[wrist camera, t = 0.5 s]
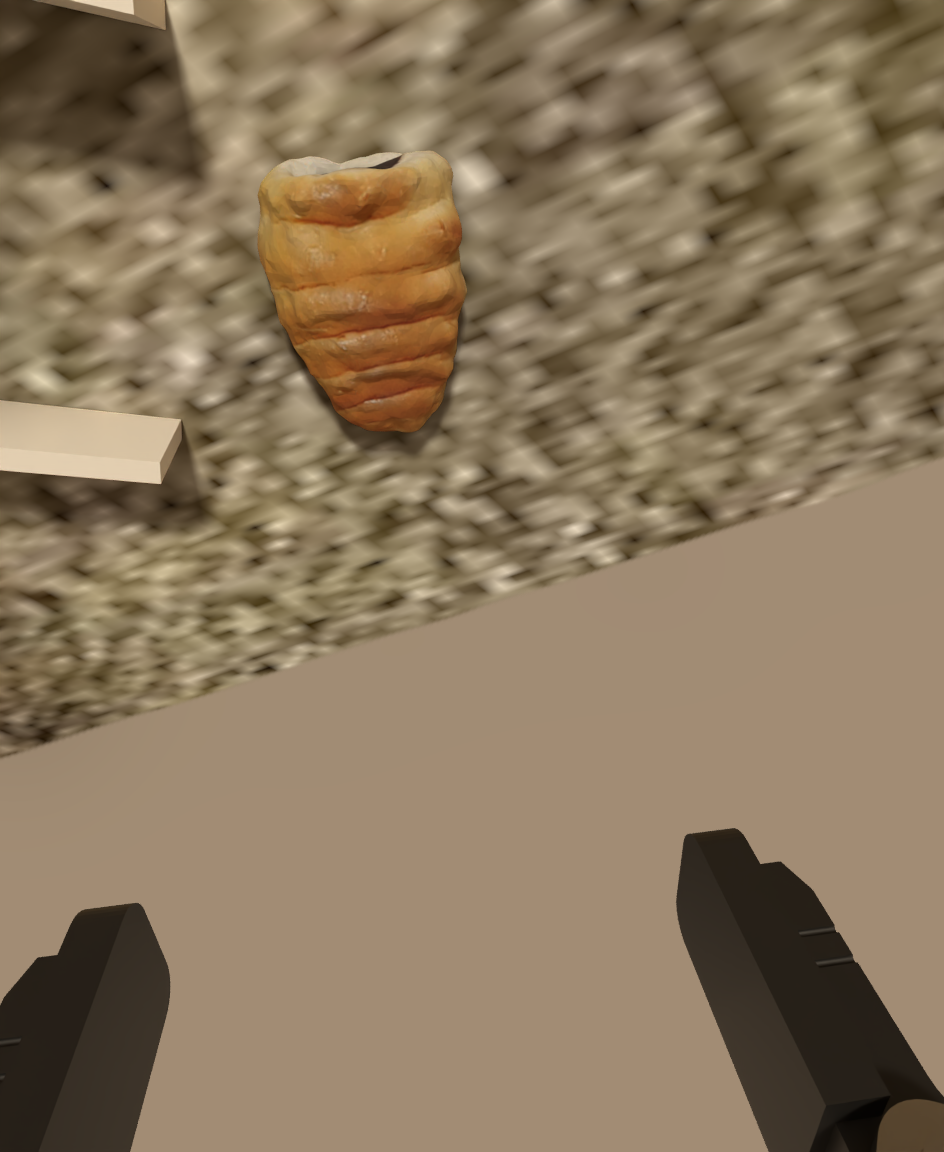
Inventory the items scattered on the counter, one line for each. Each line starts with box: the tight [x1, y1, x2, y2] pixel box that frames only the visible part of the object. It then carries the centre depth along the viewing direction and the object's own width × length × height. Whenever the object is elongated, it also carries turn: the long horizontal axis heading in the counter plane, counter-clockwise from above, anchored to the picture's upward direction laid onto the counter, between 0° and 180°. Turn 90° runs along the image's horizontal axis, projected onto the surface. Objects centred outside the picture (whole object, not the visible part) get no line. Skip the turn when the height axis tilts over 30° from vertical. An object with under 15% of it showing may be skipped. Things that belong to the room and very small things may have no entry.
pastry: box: [258, 151, 467, 433], centre depth 24 cm, size 9×7×4 cm
